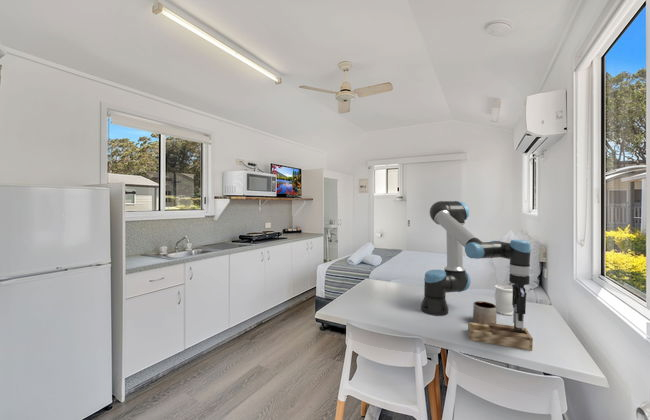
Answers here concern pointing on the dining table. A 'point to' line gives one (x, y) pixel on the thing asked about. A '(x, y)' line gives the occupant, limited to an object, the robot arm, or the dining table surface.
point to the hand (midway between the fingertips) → (518, 325)
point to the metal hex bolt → (517, 330)
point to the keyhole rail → (493, 339)
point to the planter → (484, 312)
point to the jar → (504, 299)
